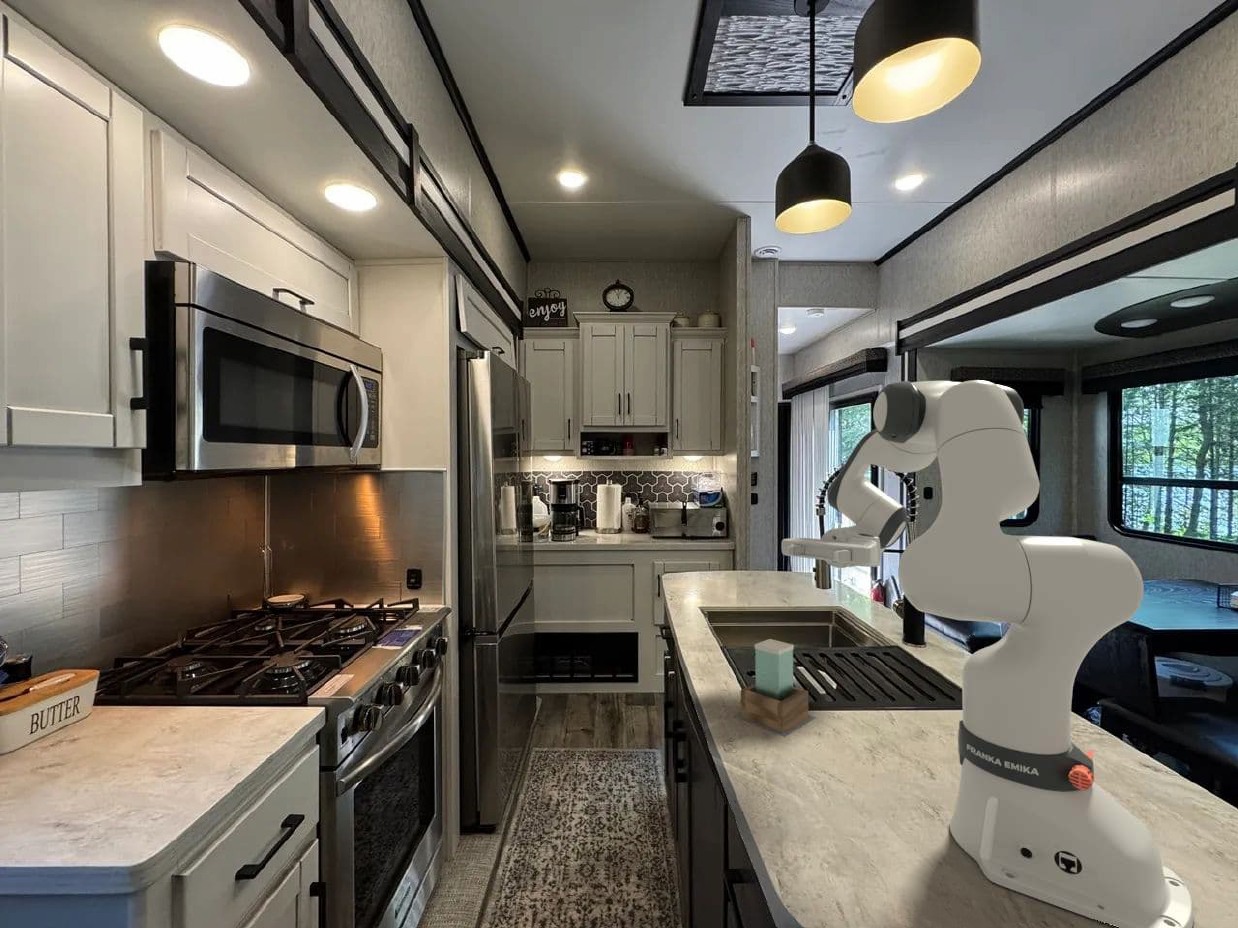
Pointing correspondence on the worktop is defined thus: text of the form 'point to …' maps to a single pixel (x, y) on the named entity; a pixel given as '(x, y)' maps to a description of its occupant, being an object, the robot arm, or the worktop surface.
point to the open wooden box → (774, 708)
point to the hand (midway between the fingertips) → (810, 553)
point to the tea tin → (774, 669)
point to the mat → (776, 730)
